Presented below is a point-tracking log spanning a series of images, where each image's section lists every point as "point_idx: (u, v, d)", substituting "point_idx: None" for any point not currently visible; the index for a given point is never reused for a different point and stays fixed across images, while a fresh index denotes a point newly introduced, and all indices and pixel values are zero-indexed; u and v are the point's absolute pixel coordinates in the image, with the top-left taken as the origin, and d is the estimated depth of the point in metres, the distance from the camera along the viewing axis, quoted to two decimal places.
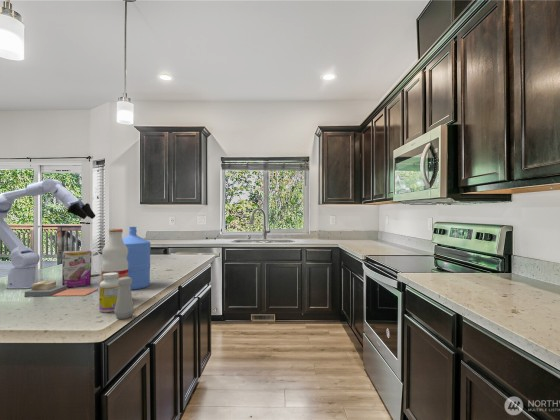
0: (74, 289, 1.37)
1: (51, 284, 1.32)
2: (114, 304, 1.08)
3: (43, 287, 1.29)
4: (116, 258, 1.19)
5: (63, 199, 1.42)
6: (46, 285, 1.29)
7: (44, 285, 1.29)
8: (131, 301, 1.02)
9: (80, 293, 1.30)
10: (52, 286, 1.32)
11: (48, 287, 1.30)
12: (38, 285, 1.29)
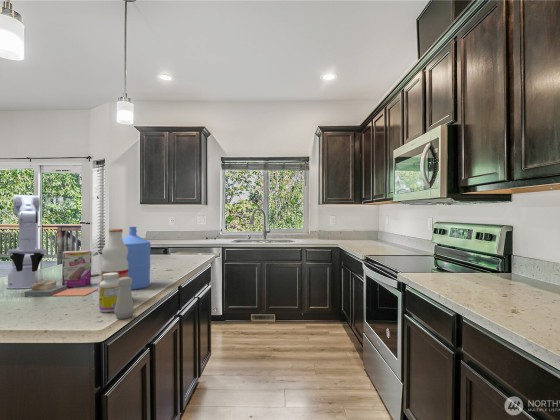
0: (74, 289, 1.37)
1: (51, 284, 1.32)
2: (114, 304, 1.08)
3: (43, 287, 1.29)
4: (116, 258, 1.19)
5: None
6: (46, 285, 1.29)
7: (44, 285, 1.29)
8: (131, 301, 1.02)
9: (80, 293, 1.30)
10: (52, 286, 1.32)
11: (48, 287, 1.30)
12: (38, 285, 1.29)
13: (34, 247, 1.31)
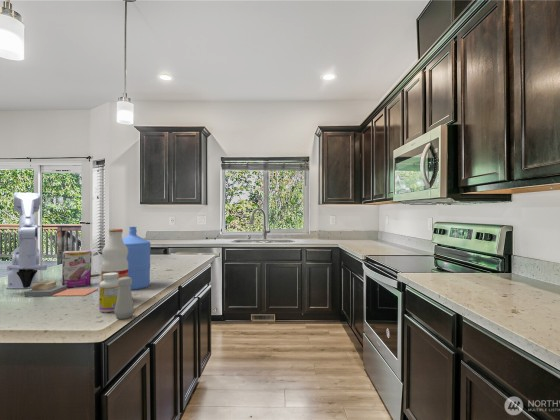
0: (74, 289, 1.37)
1: (51, 284, 1.32)
2: (114, 304, 1.08)
3: (43, 287, 1.29)
4: (116, 258, 1.19)
5: None
6: (46, 285, 1.29)
7: (44, 285, 1.29)
8: (131, 301, 1.02)
9: (80, 293, 1.30)
10: (52, 286, 1.32)
11: (48, 287, 1.30)
12: (38, 285, 1.29)
13: (34, 263, 1.31)
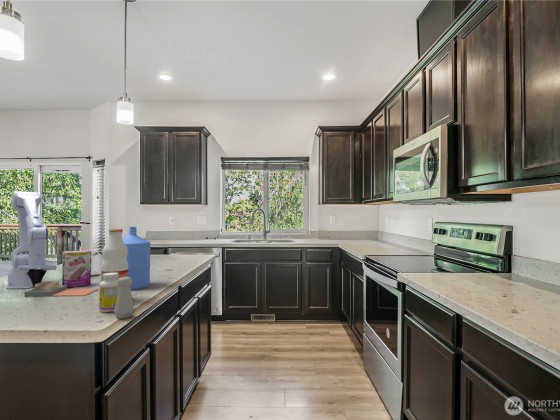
0: (74, 289, 1.37)
1: (54, 284, 1.32)
2: (114, 304, 1.08)
3: (46, 287, 1.29)
4: (116, 258, 1.19)
5: None
6: (49, 285, 1.29)
7: (47, 285, 1.29)
8: (131, 301, 1.02)
9: (80, 293, 1.30)
10: (55, 286, 1.32)
11: (51, 287, 1.30)
12: (41, 285, 1.29)
13: (43, 263, 1.32)
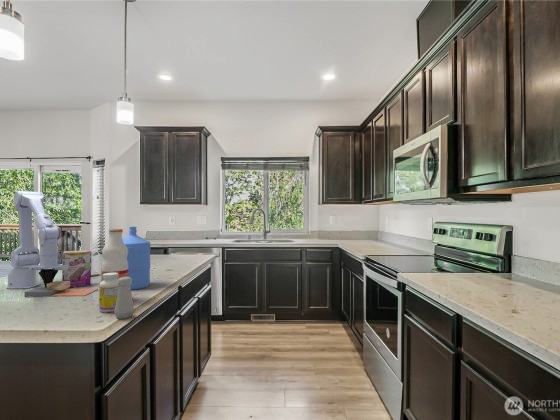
0: (74, 289, 1.37)
1: (65, 284, 1.32)
2: (114, 304, 1.08)
3: (58, 287, 1.29)
4: (116, 258, 1.19)
5: None
6: (61, 285, 1.29)
7: (59, 285, 1.29)
8: (131, 301, 1.02)
9: (80, 293, 1.30)
10: (66, 286, 1.33)
11: (63, 287, 1.30)
12: (53, 285, 1.29)
13: (55, 263, 1.32)
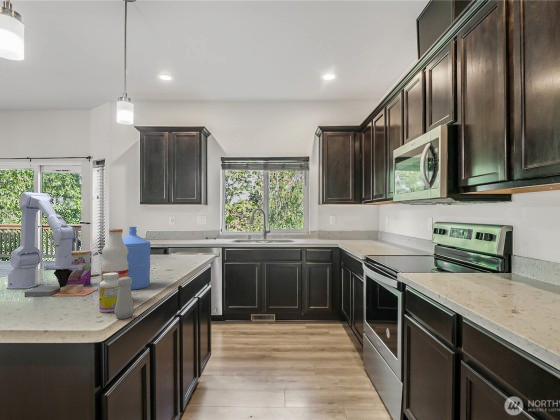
0: None
1: (79, 287, 1.33)
2: (114, 304, 1.08)
3: (71, 291, 1.30)
4: (116, 258, 1.19)
5: None
6: (74, 289, 1.30)
7: (72, 289, 1.30)
8: (131, 301, 1.02)
9: (80, 293, 1.30)
10: (80, 289, 1.33)
11: (76, 291, 1.31)
12: (67, 289, 1.30)
13: (70, 263, 1.33)
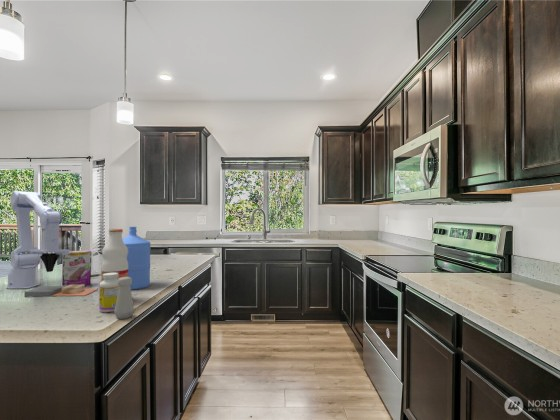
0: None
1: (80, 287, 1.33)
2: (114, 304, 1.08)
3: (73, 291, 1.30)
4: (116, 258, 1.19)
5: None
6: (76, 289, 1.30)
7: (74, 289, 1.30)
8: (131, 301, 1.02)
9: (80, 293, 1.30)
10: (81, 289, 1.33)
11: (78, 290, 1.31)
12: (68, 289, 1.30)
13: (57, 247, 1.32)
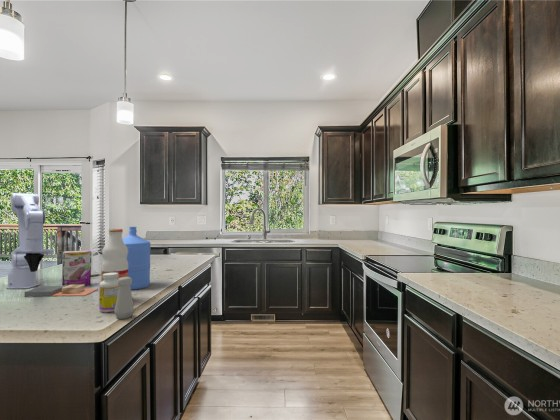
0: None
1: (80, 287, 1.33)
2: (114, 304, 1.08)
3: (73, 291, 1.30)
4: (116, 258, 1.19)
5: None
6: (76, 289, 1.30)
7: (74, 289, 1.30)
8: (131, 301, 1.02)
9: (80, 293, 1.30)
10: (81, 289, 1.33)
11: (78, 290, 1.31)
12: (68, 289, 1.30)
13: (41, 247, 1.31)
